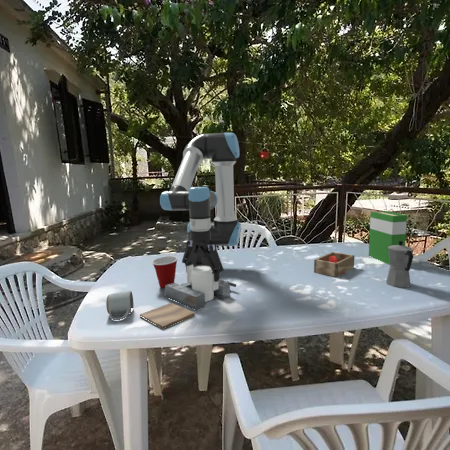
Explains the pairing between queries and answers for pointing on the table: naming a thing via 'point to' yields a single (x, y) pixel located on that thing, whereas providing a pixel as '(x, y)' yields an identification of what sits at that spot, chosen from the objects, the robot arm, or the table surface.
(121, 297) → the ceramic mug
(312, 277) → the table surface
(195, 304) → the c-clamp
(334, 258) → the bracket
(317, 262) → the crate frame
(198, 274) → the beverage can
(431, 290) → the table surface
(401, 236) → the green cereal box
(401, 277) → the coffeepot
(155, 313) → the pad
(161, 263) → the plastic cup
